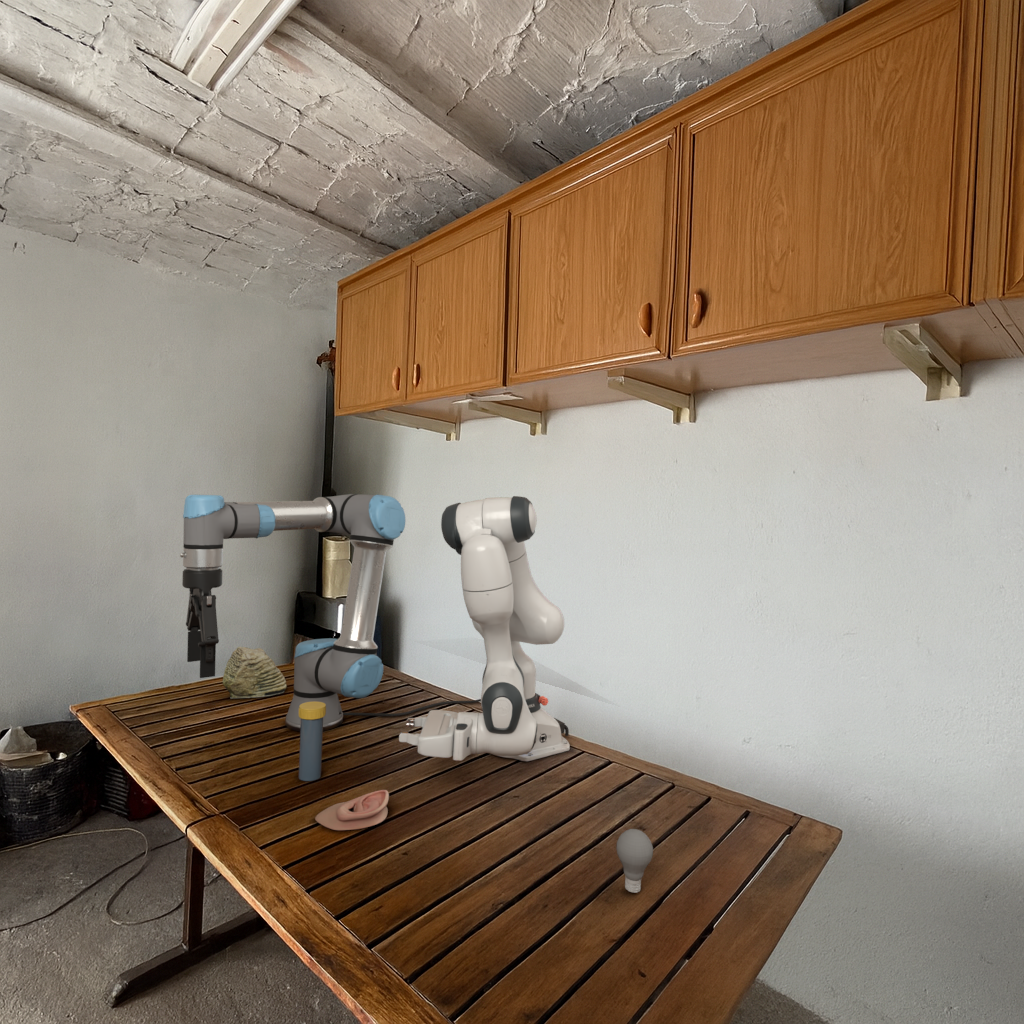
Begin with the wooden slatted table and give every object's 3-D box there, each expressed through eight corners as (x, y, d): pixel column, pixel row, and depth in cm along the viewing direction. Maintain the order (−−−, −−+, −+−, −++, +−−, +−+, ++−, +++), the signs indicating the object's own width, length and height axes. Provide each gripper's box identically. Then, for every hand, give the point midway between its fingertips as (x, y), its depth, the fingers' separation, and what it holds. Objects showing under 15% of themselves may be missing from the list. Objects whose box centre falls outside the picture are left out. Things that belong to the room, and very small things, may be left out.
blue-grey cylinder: (294, 779, 141) (296, 709, 141) (305, 770, 146) (308, 702, 146) (314, 782, 140) (316, 712, 140) (325, 773, 145) (327, 705, 145)
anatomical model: (307, 805, 121) (336, 780, 133) (306, 826, 121) (335, 798, 133) (372, 815, 119) (395, 788, 130) (371, 836, 119) (394, 807, 130)
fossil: (218, 695, 195) (220, 647, 195) (278, 685, 208) (279, 640, 207) (228, 703, 189) (230, 653, 188) (289, 692, 201) (290, 645, 201)
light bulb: (610, 879, 108) (613, 822, 108) (644, 879, 109) (647, 822, 109) (619, 902, 102) (622, 840, 102) (655, 901, 103) (658, 840, 103)
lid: (293, 718, 141) (293, 707, 141) (307, 709, 146) (307, 700, 146) (317, 721, 139) (317, 710, 139) (330, 712, 145) (330, 702, 145)
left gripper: (172, 562, 141) (170, 657, 141) (194, 576, 121) (192, 687, 121) (209, 561, 145) (207, 653, 146) (236, 574, 125) (233, 681, 126)
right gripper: (468, 704, 153) (411, 701, 153) (462, 734, 133) (396, 730, 133) (466, 730, 153) (409, 727, 153) (460, 764, 133) (394, 760, 133)
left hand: (200, 668), depth 133 cm, fingers open, 13 cm apart
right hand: (403, 729), depth 143 cm, fingers open, 8 cm apart
